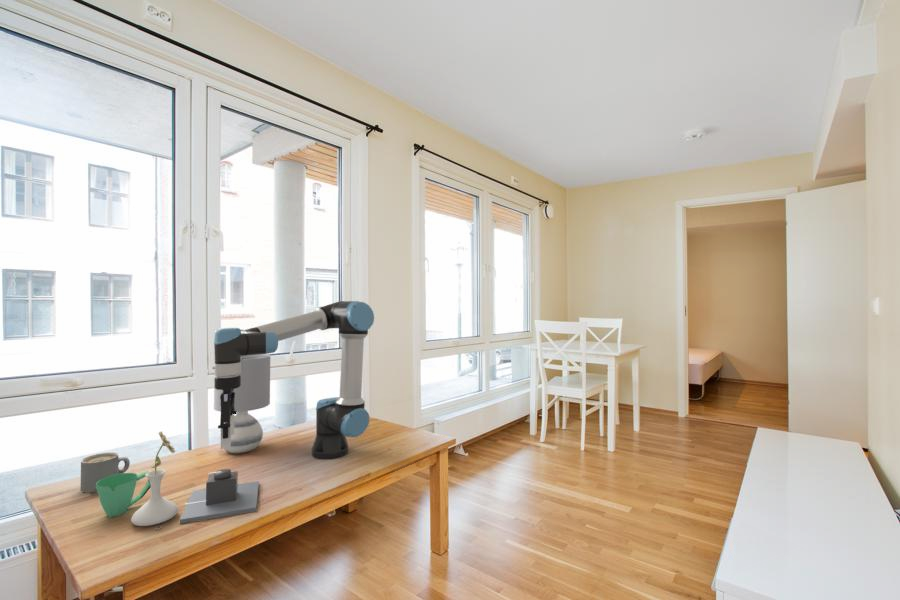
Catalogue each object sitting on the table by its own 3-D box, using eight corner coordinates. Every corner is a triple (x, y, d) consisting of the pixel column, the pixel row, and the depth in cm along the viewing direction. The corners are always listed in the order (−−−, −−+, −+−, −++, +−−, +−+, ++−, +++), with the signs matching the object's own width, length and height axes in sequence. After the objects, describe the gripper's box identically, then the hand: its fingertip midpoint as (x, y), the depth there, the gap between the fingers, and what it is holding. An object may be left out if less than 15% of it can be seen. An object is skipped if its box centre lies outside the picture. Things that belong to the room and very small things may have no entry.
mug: (104, 524, 120) (105, 489, 120) (89, 515, 125) (90, 481, 125) (160, 503, 132) (161, 471, 133) (144, 495, 137) (145, 465, 137)
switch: (258, 484, 146) (258, 468, 146) (256, 511, 128) (256, 492, 128) (190, 494, 139) (191, 477, 139) (177, 524, 120) (177, 504, 120)
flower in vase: (170, 527, 118) (171, 439, 119) (123, 533, 115) (124, 442, 115) (185, 505, 131) (186, 425, 131) (143, 510, 128) (144, 428, 128)
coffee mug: (82, 495, 137) (82, 465, 137) (78, 486, 144) (79, 457, 144) (132, 483, 147) (133, 454, 147) (127, 475, 153) (127, 447, 153)
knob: (237, 492, 138) (237, 466, 138) (235, 500, 132) (236, 473, 132) (208, 496, 135) (209, 469, 135) (205, 505, 129) (206, 477, 129)
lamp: (233, 463, 166) (234, 361, 166) (202, 452, 176) (203, 357, 176) (279, 447, 184) (280, 355, 184) (249, 438, 195) (250, 352, 195)
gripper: (219, 370, 145) (219, 431, 145) (209, 383, 122) (209, 456, 122) (243, 368, 148) (243, 428, 148) (237, 381, 125) (238, 452, 125)
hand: (227, 441), depth 135 cm, fingers open, 13 cm apart
